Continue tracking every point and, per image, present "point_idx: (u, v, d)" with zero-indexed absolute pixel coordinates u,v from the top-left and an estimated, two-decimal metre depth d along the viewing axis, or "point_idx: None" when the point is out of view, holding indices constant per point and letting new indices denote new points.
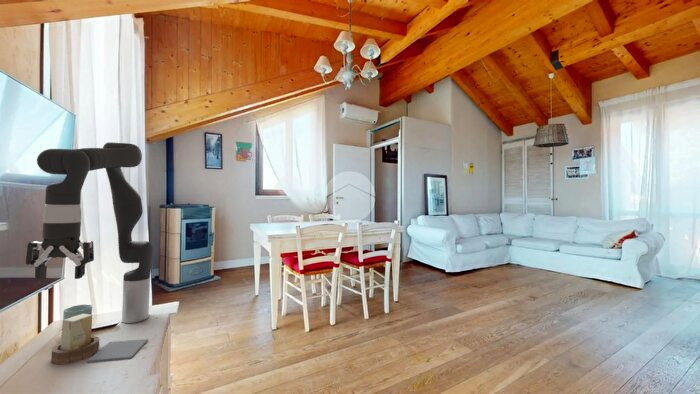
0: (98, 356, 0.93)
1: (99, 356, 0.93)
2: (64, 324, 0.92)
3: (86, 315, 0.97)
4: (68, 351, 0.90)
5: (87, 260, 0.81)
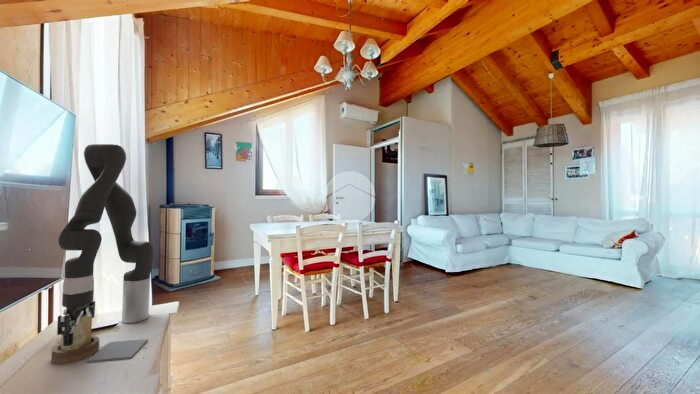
0: (98, 356, 0.93)
1: (99, 356, 0.93)
2: None
3: (86, 315, 0.97)
4: (68, 351, 0.90)
5: None
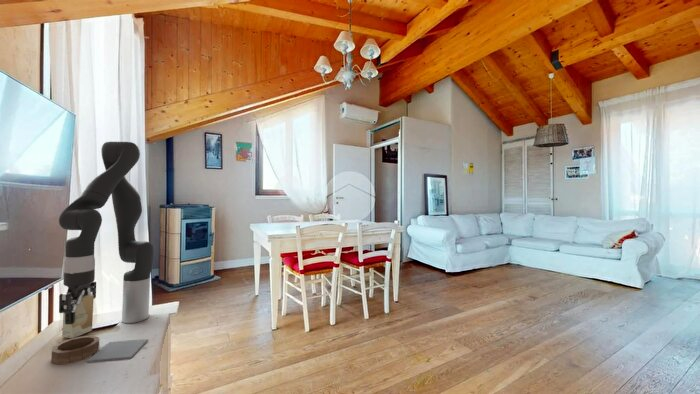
0: (98, 356, 0.93)
1: (99, 356, 0.93)
2: None
3: (87, 295, 0.97)
4: (68, 351, 0.90)
5: (95, 296, 1.02)
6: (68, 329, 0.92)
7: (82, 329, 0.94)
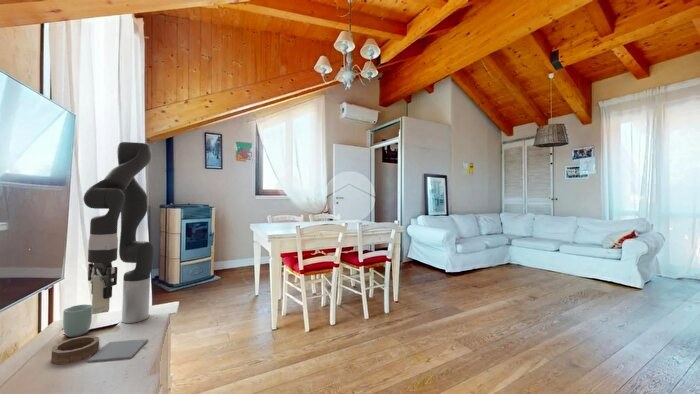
0: (98, 356, 0.93)
1: (99, 356, 0.93)
2: (97, 280, 0.94)
3: None
4: (68, 351, 0.90)
5: None
6: (102, 304, 0.94)
7: None
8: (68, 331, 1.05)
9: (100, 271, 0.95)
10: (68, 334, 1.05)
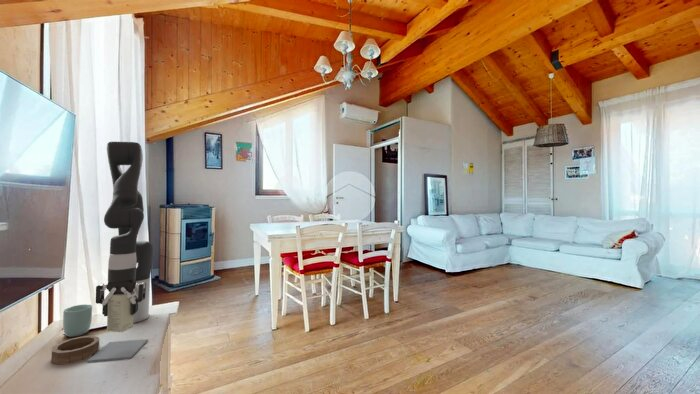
0: (98, 356, 0.93)
1: (99, 356, 0.93)
2: (125, 298, 0.96)
3: None
4: (68, 351, 0.90)
5: None
6: (129, 321, 0.98)
7: None
8: (68, 331, 1.05)
9: (126, 289, 0.97)
10: (68, 334, 1.05)
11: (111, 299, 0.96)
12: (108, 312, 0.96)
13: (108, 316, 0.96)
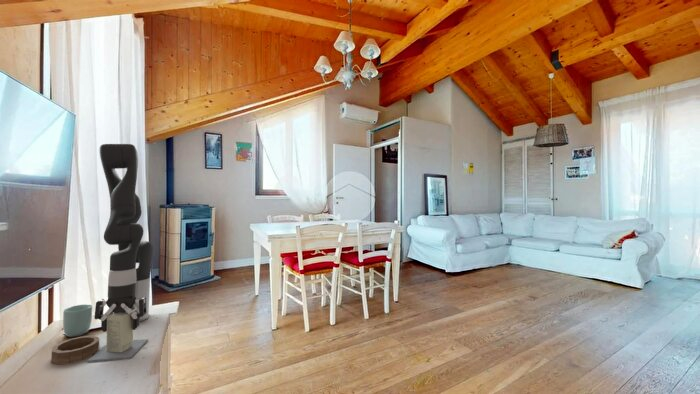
0: (98, 356, 0.93)
1: (99, 356, 0.93)
2: (124, 318, 0.96)
3: None
4: (68, 351, 0.90)
5: None
6: (128, 341, 0.98)
7: None
8: (68, 331, 1.05)
9: (126, 305, 0.97)
10: (68, 334, 1.05)
11: (110, 319, 0.96)
12: (107, 332, 0.96)
13: (107, 336, 0.96)
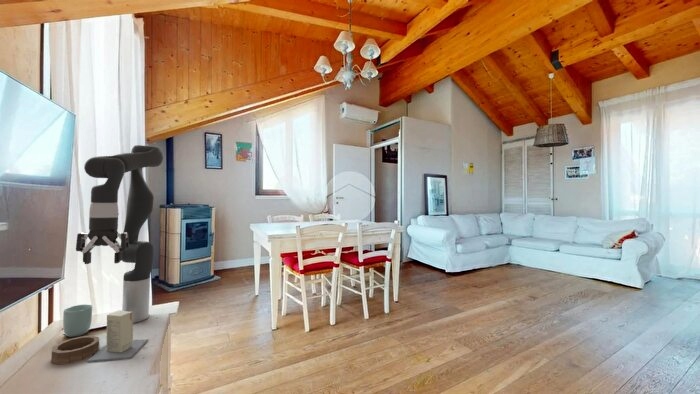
0: (98, 356, 0.93)
1: (99, 356, 0.93)
2: (124, 318, 0.96)
3: (117, 311, 0.99)
4: (68, 351, 0.90)
5: None
6: (128, 341, 0.98)
7: None
8: (68, 331, 1.05)
9: (108, 238, 0.98)
10: (68, 334, 1.05)
11: (110, 319, 0.96)
12: (107, 332, 0.96)
13: (107, 336, 0.96)
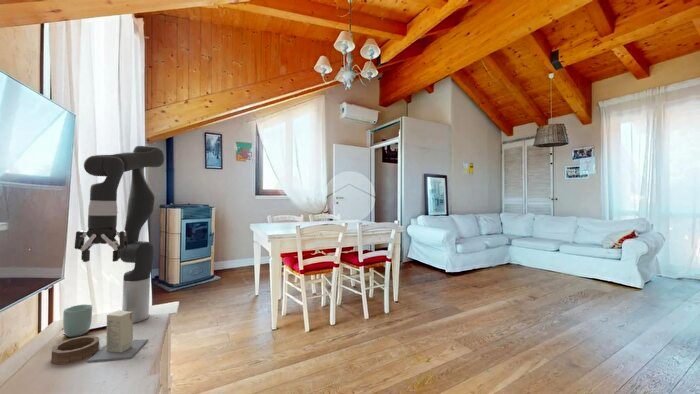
0: (98, 356, 0.93)
1: (99, 356, 0.93)
2: (124, 318, 0.96)
3: (117, 311, 0.99)
4: (68, 351, 0.90)
5: None
6: (128, 341, 0.98)
7: None
8: (68, 331, 1.05)
9: (107, 236, 0.98)
10: (68, 334, 1.05)
11: (110, 319, 0.96)
12: (107, 332, 0.96)
13: (107, 336, 0.96)
